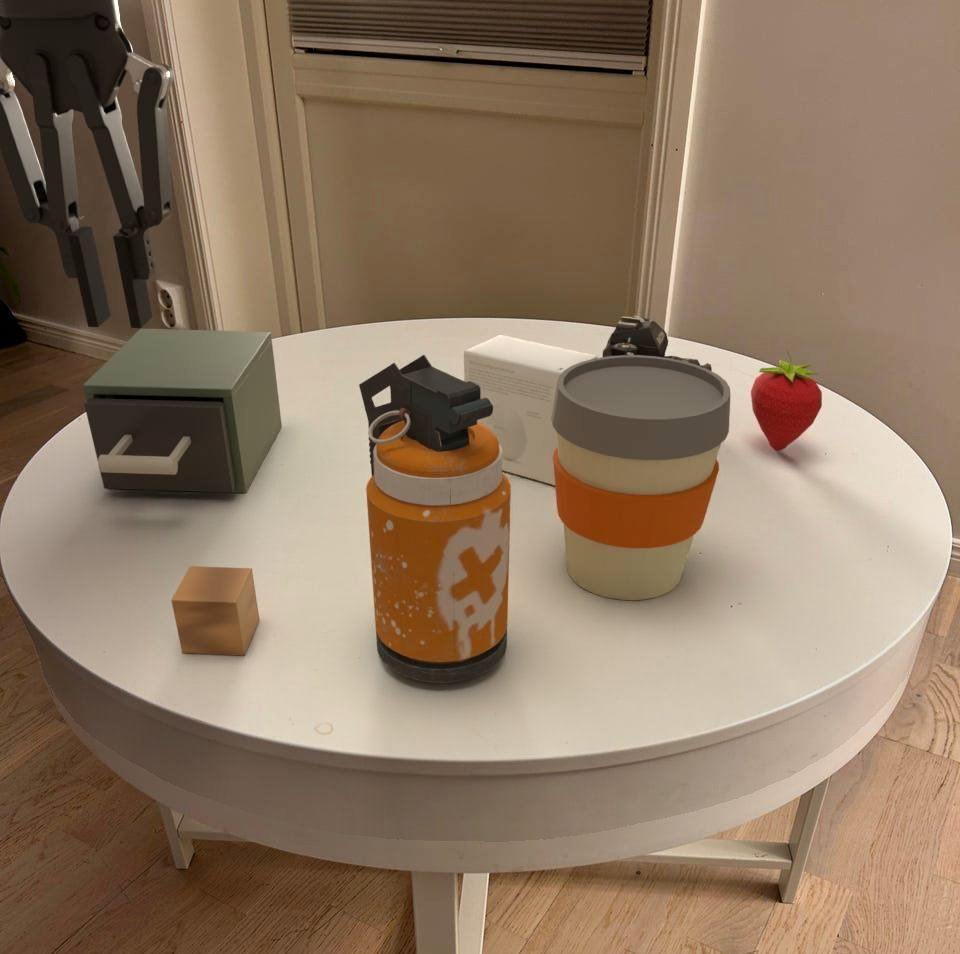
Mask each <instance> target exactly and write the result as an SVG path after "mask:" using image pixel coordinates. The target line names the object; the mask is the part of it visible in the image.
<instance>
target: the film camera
mask: <svg viewBox="0 0 960 954" xmlns="http://www.w3.org/2000/svg"><path fill="white" fill-rule="evenodd" d="M668 346H669V339H668V334H667V332H666V330H665V329H663V328H662V327H661V326H660V325H659V324H658V323H657V322H656V321H655V320H650V318H647V317H645V316H641V315H632V316H621V318H620V320H619V321H618V322H617V324H616V325H615V329H614V331H613V332H612V333H611V334H610V336H609V338H608V340H607V342H606V345H605V347H604V349H603V350H602V357H608V356H621V355H641V356H656V357H663V358H670V359H675V360H680V361H685V362H688V363H692V364H695V365H698V366H701V367H703V368H706V369H708V370H710V371H712V364H710V363H709V362H707V363H705V364H700V361H699V360H698V359H697V358H688V357H680V356H677V355H666V351H667V349H668ZM712 372H713V371H712Z"/></svg>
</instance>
